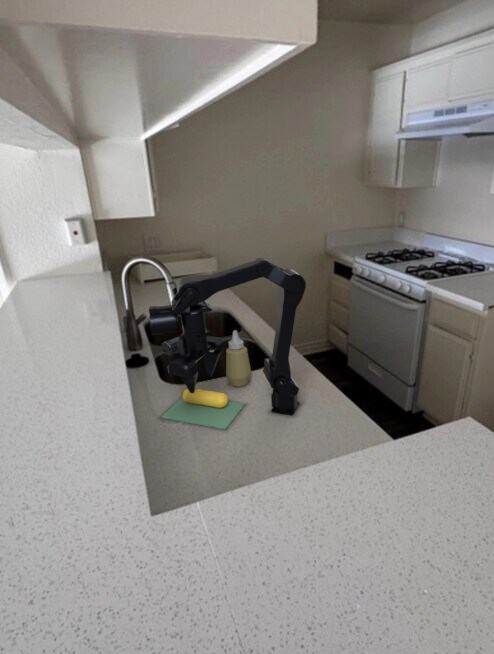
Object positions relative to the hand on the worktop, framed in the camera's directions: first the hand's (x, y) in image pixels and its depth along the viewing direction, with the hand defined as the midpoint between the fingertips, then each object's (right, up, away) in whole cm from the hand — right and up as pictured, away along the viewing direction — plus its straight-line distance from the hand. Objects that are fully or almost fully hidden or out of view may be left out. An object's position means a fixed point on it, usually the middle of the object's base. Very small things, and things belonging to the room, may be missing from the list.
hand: (201, 384), depth 110 cm
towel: (-1, -8, +10) cm, 13 cm away
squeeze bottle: (+8, -2, +25) cm, 26 cm away
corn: (-1, -7, +13) cm, 15 cm away
